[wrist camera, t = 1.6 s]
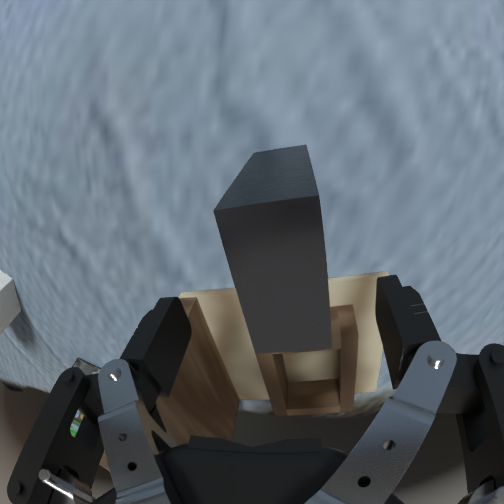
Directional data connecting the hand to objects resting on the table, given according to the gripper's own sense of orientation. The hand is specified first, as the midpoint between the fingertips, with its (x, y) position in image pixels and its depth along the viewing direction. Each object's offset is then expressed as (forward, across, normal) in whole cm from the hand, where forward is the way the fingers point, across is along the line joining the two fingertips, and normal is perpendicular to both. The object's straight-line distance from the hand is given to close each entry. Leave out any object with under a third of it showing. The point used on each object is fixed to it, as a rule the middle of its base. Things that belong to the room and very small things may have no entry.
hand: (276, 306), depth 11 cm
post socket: (+13, +3, +17) cm, 22 cm away
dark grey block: (+13, 0, 0) cm, 13 cm away
